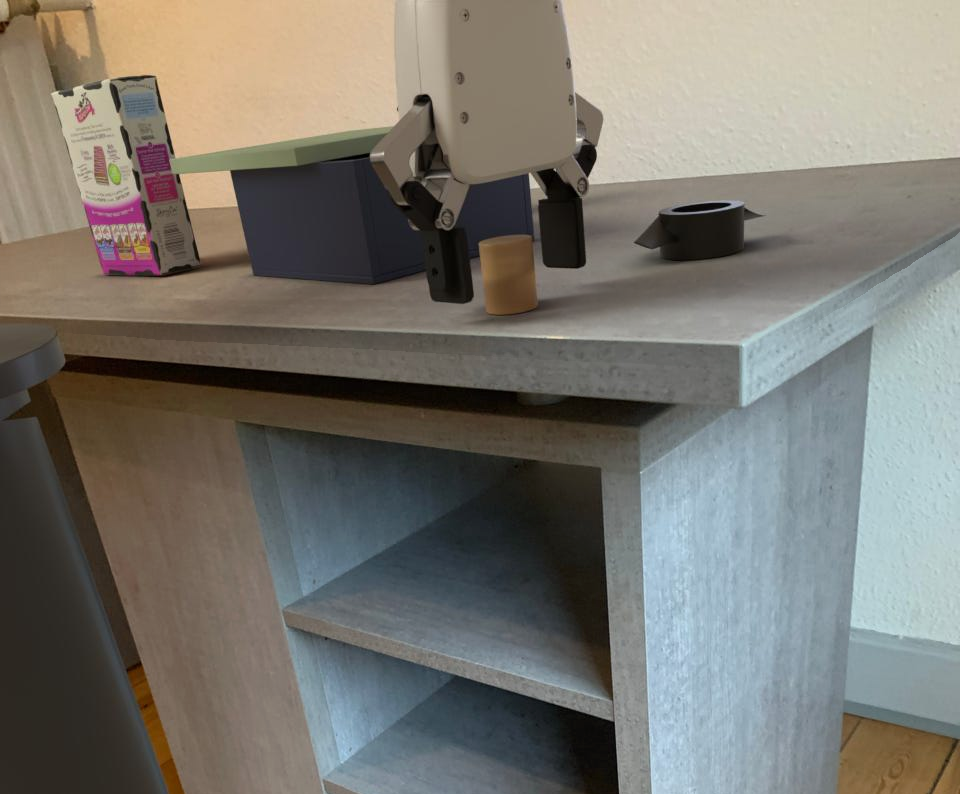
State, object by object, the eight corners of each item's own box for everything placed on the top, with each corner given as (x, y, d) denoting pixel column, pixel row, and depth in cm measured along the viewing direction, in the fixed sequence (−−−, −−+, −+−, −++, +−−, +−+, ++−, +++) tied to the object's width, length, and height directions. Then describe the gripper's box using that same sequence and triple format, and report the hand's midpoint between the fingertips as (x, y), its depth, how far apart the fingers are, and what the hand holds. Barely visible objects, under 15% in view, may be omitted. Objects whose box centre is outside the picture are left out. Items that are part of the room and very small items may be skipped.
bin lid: (297, 165, 73) (294, 148, 72) (172, 174, 86) (168, 159, 86) (489, 131, 84) (488, 116, 83) (352, 144, 97) (350, 130, 97)
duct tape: (787, 251, 65) (788, 204, 64) (637, 269, 66) (635, 223, 65) (760, 235, 72) (761, 192, 71) (624, 252, 73) (622, 210, 71)
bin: (373, 284, 74) (353, 160, 70) (253, 275, 86) (229, 169, 82) (535, 240, 84) (525, 129, 80) (406, 238, 96) (392, 141, 91)
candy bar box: (205, 266, 95) (158, 73, 87) (162, 277, 92) (108, 77, 84) (144, 265, 102) (94, 86, 94) (101, 275, 99) (46, 91, 91)
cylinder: (511, 316, 58) (504, 245, 56) (475, 313, 60) (467, 244, 58) (548, 304, 60) (542, 234, 58) (512, 301, 62) (505, 234, 60)
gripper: (538, -51, 58) (562, 254, 67) (298, -41, 49) (361, 313, 57) (637, -77, 53) (650, 256, 61) (390, -72, 43) (445, 321, 52)
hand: (511, 283), depth 59 cm, fingers open, 9 cm apart
